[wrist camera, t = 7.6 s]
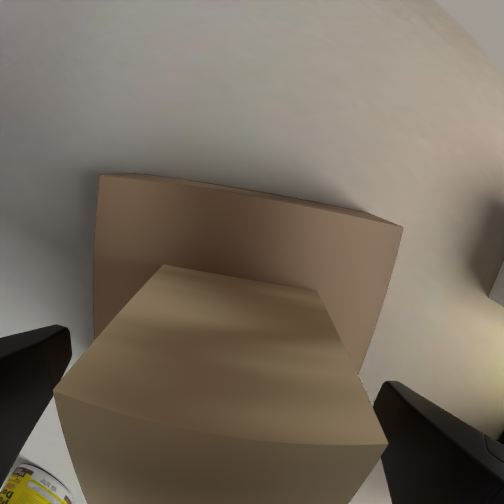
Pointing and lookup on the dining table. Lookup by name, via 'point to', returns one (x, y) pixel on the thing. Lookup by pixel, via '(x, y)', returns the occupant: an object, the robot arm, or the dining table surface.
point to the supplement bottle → (33, 488)
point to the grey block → (498, 288)
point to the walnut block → (241, 246)
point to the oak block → (218, 399)
